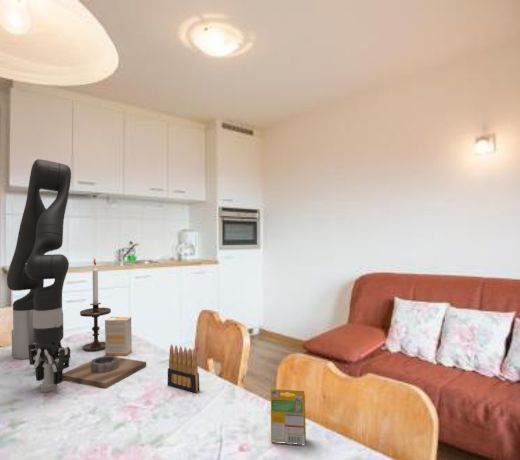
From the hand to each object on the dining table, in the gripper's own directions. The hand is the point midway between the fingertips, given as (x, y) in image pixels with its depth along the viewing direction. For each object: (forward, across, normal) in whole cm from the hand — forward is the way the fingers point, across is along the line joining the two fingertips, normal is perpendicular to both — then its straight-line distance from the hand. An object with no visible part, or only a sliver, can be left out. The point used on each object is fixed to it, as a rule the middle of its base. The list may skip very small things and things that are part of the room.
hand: (49, 381), depth 105 cm
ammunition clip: (+2, +36, +14) cm, 39 cm away
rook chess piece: (+2, 0, 0) cm, 2 cm away
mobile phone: (+3, -14, +14) cm, 20 cm away
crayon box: (+2, +72, 0) cm, 72 cm away
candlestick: (+2, -16, +33) cm, 37 cm away
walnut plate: (+2, +6, +15) cm, 16 cm away
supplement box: (+2, -3, +31) cm, 31 cm away
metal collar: (+1, +6, +15) cm, 16 cm away
